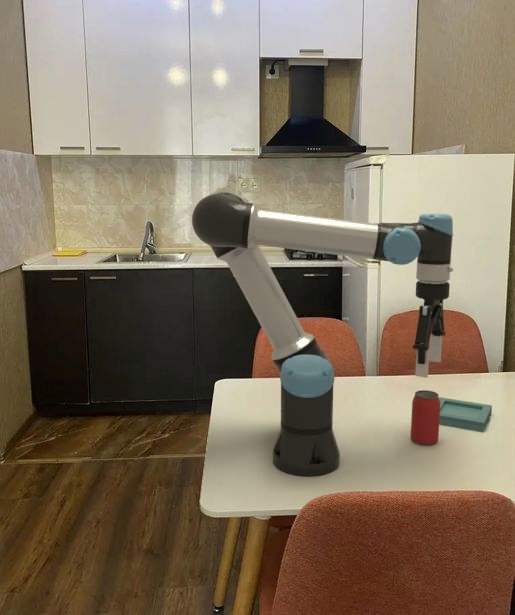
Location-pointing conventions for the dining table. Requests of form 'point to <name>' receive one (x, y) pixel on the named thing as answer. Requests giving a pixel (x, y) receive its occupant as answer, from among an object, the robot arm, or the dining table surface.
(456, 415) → the coaster
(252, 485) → the dining table surface
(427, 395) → the beer can
